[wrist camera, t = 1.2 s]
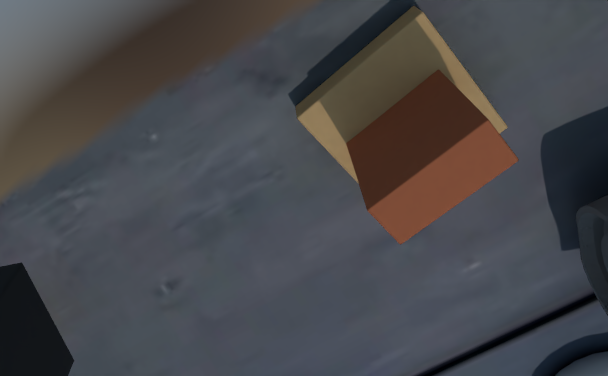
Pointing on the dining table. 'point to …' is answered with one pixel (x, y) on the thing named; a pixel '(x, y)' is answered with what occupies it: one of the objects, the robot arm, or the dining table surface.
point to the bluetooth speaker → (595, 246)
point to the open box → (408, 126)
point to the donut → (587, 366)
